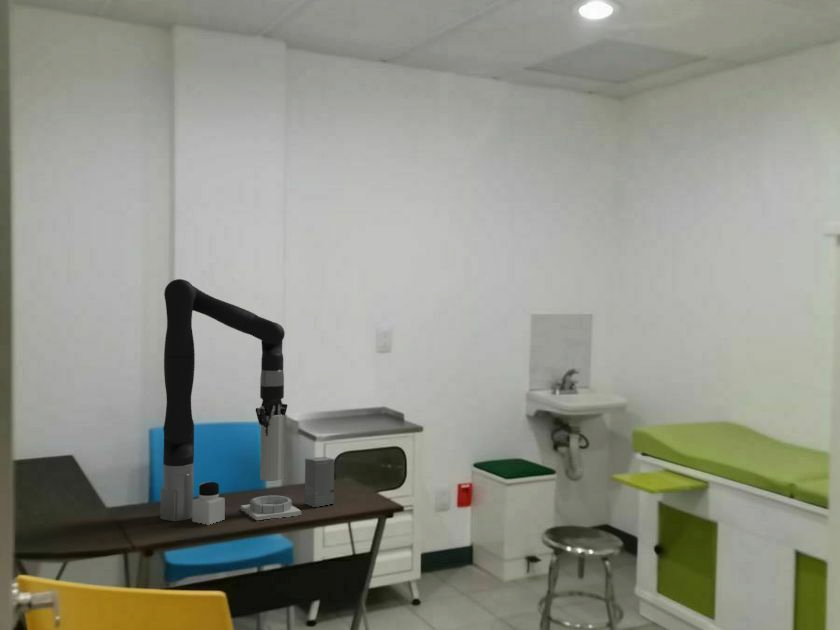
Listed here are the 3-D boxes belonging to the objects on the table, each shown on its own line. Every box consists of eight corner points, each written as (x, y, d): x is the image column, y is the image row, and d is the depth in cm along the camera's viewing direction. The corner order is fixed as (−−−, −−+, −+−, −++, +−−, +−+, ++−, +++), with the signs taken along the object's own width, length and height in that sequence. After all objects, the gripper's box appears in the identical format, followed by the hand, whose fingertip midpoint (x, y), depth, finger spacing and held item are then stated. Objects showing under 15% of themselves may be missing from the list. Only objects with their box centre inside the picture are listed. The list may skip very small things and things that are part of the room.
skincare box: (314, 508, 276) (314, 461, 276) (302, 504, 282) (303, 457, 281) (335, 504, 281) (336, 458, 281) (323, 500, 287) (324, 454, 286)
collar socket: (256, 521, 260) (256, 508, 260) (240, 510, 273) (241, 497, 272) (301, 515, 267) (301, 503, 267) (283, 504, 280) (284, 492, 280)
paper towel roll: (256, 480, 269) (257, 414, 268) (267, 476, 274) (268, 412, 273) (274, 483, 265) (274, 416, 265) (285, 479, 271) (286, 414, 270)
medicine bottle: (225, 520, 260) (225, 482, 260) (208, 525, 254) (209, 486, 254) (208, 516, 264) (208, 479, 264) (191, 522, 258) (192, 483, 257)
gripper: (276, 381, 277) (276, 432, 277) (248, 385, 264) (247, 438, 265) (294, 382, 273) (294, 434, 274) (267, 386, 261) (266, 441, 261)
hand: (271, 436), depth 269 cm, fingers closed on paper towel roll, 3 cm apart
